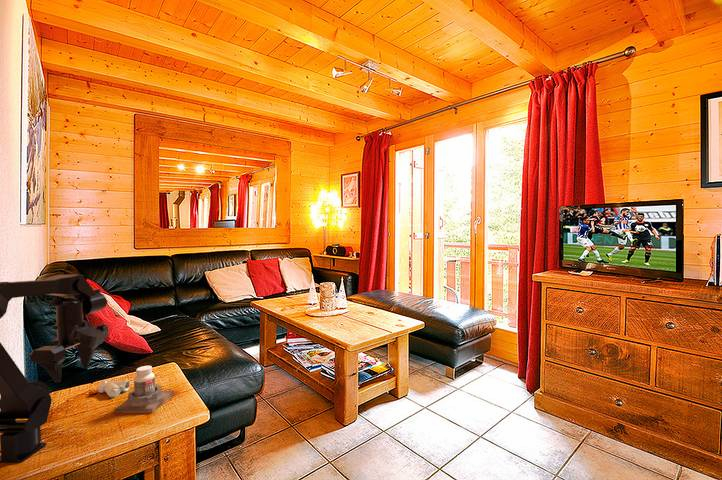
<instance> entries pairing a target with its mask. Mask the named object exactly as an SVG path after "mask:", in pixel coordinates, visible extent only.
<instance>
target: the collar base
mask: <svg viewBox="0 0 722 480" xmlns="http://www.w3.org/2000/svg"><path fill="white" fill-rule="evenodd" d="M172 396H174V390H162V386H160V385H157V384H155V392H154V393H152V394H150V395H147V396H142V397H135V396H134V389H133V390H131V391H130V392H129V393H128V395H127V399H126V400H125V401H124V402H123V403H121V404H120V405H118V406H117V407H116V408H114V409H113V411H114V412H113V413H114V414H153V413H154V412H156V411H157V410H158V409H159V408H160V407H162V405H163V404H165V403H166V402H167V401H168V400H169V399H170V398H171V397H172Z"/></svg>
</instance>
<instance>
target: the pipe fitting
mask: <svg viewBox="0 0 722 480" xmlns="http://www.w3.org/2000/svg"><path fill="white" fill-rule="evenodd" d="M97 387H98V388H97V392H98V393H101V394H103V393H106V395H108V397H110V398H111V399H112V398H116V397H118V396H119V395H120V393H121V392H128V391H129V390H130V388H131V380H129V379H123V380H102V381H100V382H99V384H98V386H97Z"/></svg>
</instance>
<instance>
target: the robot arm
mask: <svg viewBox="0 0 722 480" xmlns="http://www.w3.org/2000/svg"><path fill="white" fill-rule="evenodd" d="M43 295H46V296H47V295H48V296H55V297H54V299H52V301H50V302H49V303H48V305H47V306H48V307H51V308H52V307H53V308H55V312H56V317H55V319H56V324H53V325H52V330H56V336H57V337H56V339H54V340H52V343H53V345H44V346H42V347H39V348H36V349H34V350H32V351H31V352H30V353H29V362H30V363H35V364H39V365H40V366H41V367H42V368H43V369H44V370H45V371H46V372H47V373H48V375H49V376H50V377H51V379H52V380H53V381H54V382H55V383H60V382H61V381H62V369H63V364H62V363H63V362H64V361H65V360H66V359H67V356H65V355H66V351H67V350H70V349H72V348H75V347H76V349H77V352H78V356H79V359H80V363H81V365H82V368H83V369H88V368H89V365H90V362H91V360H92V357H93V355H94V352H95V349H96V348H97V347H98V346H99V345H102V344H103V343H104V340H105V339H106V338H107V337H109V325H107V324H105V323H102V324H99V325H98V326H93V327H91V326H90V325H89V323H90V322H88V321H89V320H84V316H86V315H87V316H88V315H91V314H93V313H97V312H99V311H102V310H104V309H105V308H106V306H107V304H108V300H107V297H106V296H105V294H103V293H102V292H101V289H100V288H93V287H92V286H91V285H90V283H89V282H88V281H87V280H86V278H85V275H83V274H56V275H52V276H48V277H46V278H43V279H38V280H22V281H21V280H20V281H18V280H17V281H0V320H1V318H3V317H4V316H5V314H6V313H7V311H8V310H7V309H8V306H9V303H10V301H11V300H12V299H15V298H16V299H17V298H24V297H33V296H43ZM51 394H52V390H50V389H48V387H47V384H46V383H45V382H44V381H28V379H27V378H26V377H25V375H24V374H23V372H22V371H21V369H20V368H19V367H18V365H17V364H16V362H15V361H14V360H13V358H12V357H11V355H10V354H9V352H8V351H7V349H5V347H4V345H3V344H2V342H1V341H0V463H22V462H24V461H26V460H27V459H28V458H30V457H31V456H33V455H34V454H36V453H38V451H40V450H42V449H43V448H44V447H46V446H47V442H42V435H41V434H42V432H41V431H42V430H41V429H42V427H41V426H43V425H45V424H46V423H47V421H48V418H49V414H50V410H51V406H52V396H51Z"/></svg>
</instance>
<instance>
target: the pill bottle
mask: <svg viewBox="0 0 722 480" xmlns="http://www.w3.org/2000/svg"><path fill="white" fill-rule="evenodd" d="M152 371H153V367H152V365H144V366H143V365H142V366H140V367H137V368H136V371H135V372H136V376H134V378H133V390H134V396H135V397H142V396H147V395H150V394H152V393H154V392H155V385H156V376H155V374H154V373H153V372H152Z"/></svg>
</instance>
